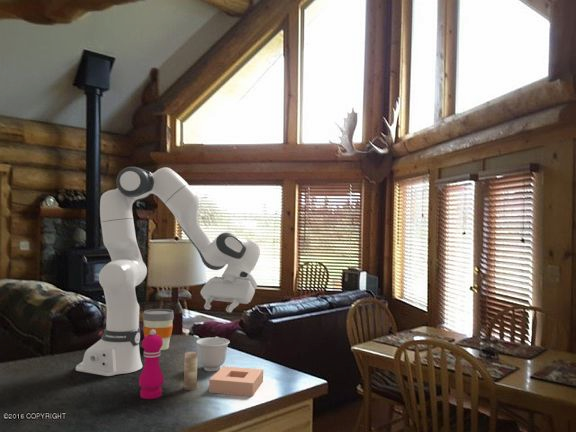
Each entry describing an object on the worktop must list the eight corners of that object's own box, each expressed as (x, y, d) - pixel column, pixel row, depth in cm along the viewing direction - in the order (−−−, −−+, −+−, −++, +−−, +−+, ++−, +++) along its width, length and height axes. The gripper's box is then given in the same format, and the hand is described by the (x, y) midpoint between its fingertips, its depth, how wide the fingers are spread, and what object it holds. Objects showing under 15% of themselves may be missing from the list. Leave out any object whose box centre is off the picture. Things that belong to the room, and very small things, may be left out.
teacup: (232, 362, 182) (233, 335, 182) (226, 374, 167) (227, 346, 167) (200, 361, 182) (201, 334, 182) (191, 373, 167) (192, 344, 168)
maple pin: (181, 389, 151) (182, 354, 152) (186, 385, 155) (187, 351, 156) (193, 390, 151) (194, 355, 151) (198, 386, 155) (199, 352, 155)
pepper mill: (156, 401, 142) (158, 332, 142) (133, 398, 143) (135, 331, 143) (167, 392, 149) (169, 327, 149) (145, 390, 150) (147, 326, 150)
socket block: (209, 392, 150) (209, 379, 150) (222, 378, 164) (223, 366, 164) (252, 396, 147) (253, 383, 147) (263, 381, 161) (263, 369, 161)
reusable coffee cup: (148, 343, 207) (149, 308, 207) (177, 344, 205) (178, 309, 206) (136, 350, 194) (137, 313, 194) (166, 352, 193) (167, 315, 193)
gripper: (208, 270, 176) (189, 301, 167) (254, 274, 166) (237, 307, 157) (215, 281, 180) (197, 312, 171) (261, 286, 170) (245, 318, 161)
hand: (217, 309), depth 164 cm, fingers open, 8 cm apart
